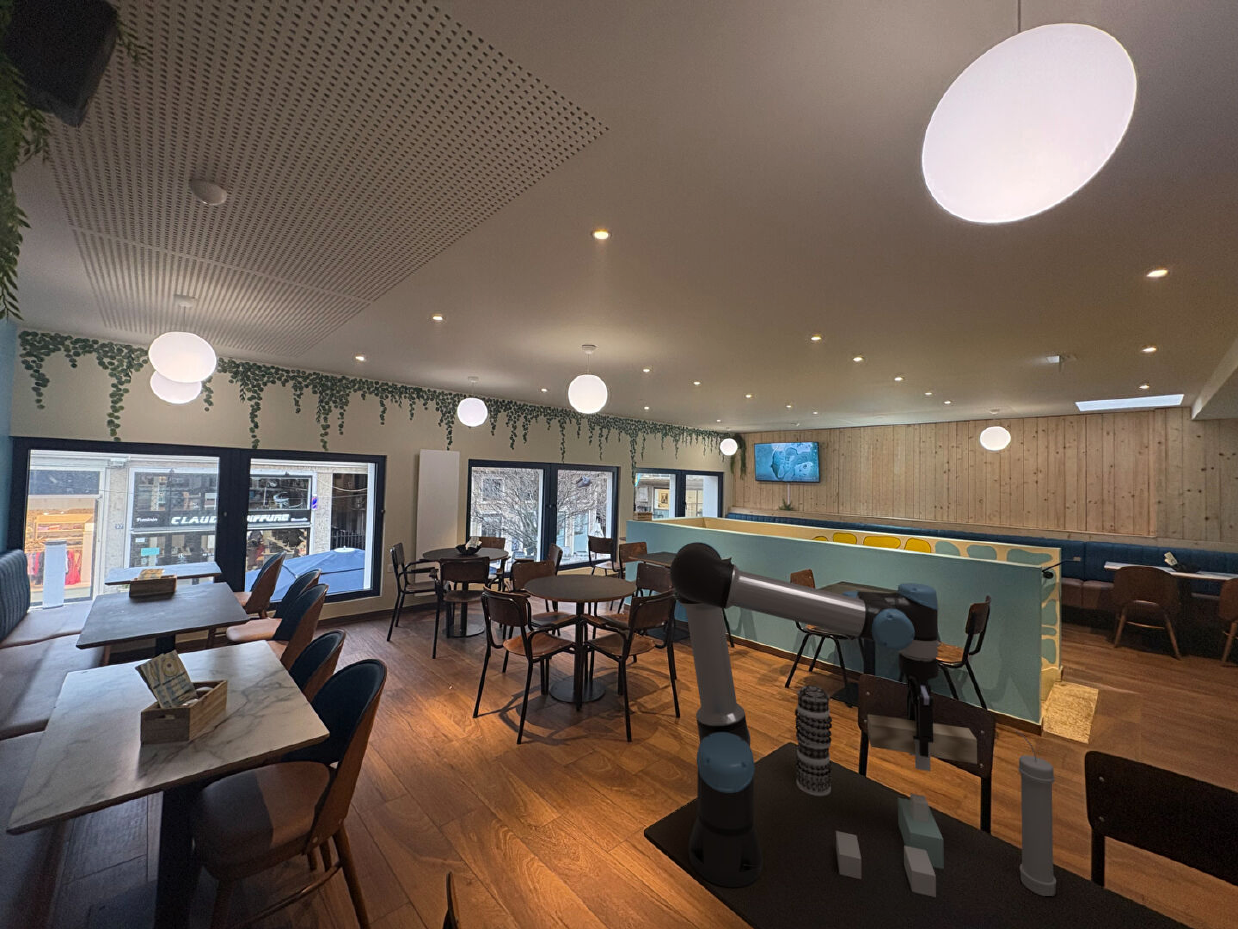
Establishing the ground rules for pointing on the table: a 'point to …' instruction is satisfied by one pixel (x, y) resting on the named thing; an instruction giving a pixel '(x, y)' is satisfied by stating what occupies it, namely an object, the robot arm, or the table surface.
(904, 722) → the wooden block
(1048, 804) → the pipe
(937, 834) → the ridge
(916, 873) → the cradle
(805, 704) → the studded grey cylinder
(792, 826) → the table surface
